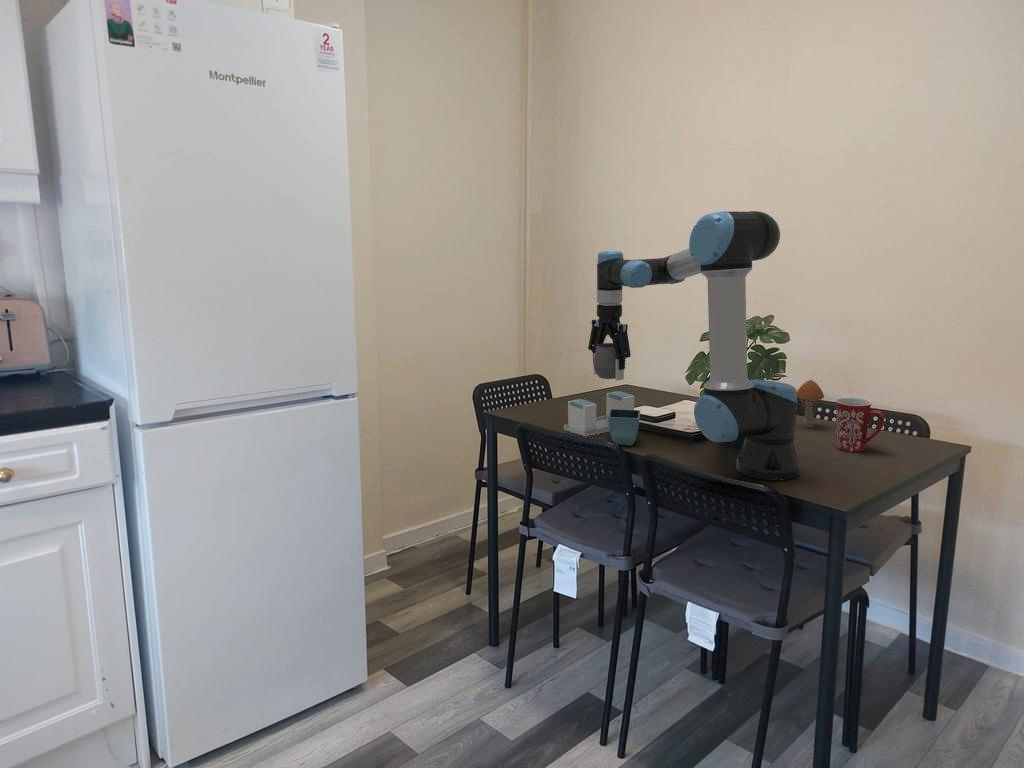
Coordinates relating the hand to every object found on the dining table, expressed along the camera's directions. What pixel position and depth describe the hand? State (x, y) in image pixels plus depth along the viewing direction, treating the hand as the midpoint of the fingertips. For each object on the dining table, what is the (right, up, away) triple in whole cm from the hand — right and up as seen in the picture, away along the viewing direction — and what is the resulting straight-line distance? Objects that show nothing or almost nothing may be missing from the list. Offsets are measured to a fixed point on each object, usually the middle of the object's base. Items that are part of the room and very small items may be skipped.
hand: (608, 376), depth 217 cm
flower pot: (+3, -20, -11) cm, 23 cm away
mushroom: (+61, -16, -1) cm, 63 cm away
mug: (+65, -21, -22) cm, 72 cm away
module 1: (-8, -16, 0) cm, 18 cm away
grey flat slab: (-2, -16, +4) cm, 16 cm away
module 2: (+5, -13, +8) cm, 16 cm away
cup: (0, 0, 0) cm, 0 cm away
